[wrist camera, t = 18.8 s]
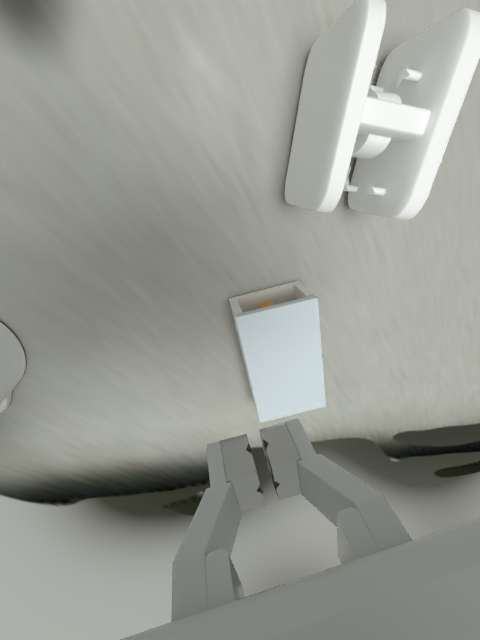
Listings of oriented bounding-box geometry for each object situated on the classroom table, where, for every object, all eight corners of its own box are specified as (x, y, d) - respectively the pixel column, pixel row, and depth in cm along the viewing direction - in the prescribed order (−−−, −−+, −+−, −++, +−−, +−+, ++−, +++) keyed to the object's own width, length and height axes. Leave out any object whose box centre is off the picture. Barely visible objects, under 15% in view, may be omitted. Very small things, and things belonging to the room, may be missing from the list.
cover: (259, 418, 43) (260, 422, 43) (234, 314, 35) (235, 317, 34) (323, 402, 43) (325, 406, 43) (315, 295, 35) (317, 297, 34)
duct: (252, 395, 48) (259, 418, 43) (228, 298, 39) (234, 314, 35) (309, 379, 48) (322, 400, 44) (298, 280, 40) (313, 293, 35)
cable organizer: (306, 36, 28) (377, -41, 18) (399, 59, 30) (510, 3, 20) (278, 201, 35) (319, 213, 24) (357, 210, 37) (424, 226, 27)
